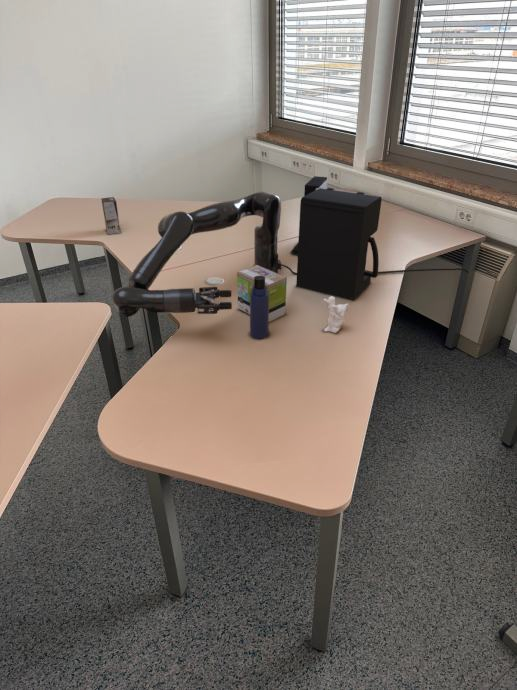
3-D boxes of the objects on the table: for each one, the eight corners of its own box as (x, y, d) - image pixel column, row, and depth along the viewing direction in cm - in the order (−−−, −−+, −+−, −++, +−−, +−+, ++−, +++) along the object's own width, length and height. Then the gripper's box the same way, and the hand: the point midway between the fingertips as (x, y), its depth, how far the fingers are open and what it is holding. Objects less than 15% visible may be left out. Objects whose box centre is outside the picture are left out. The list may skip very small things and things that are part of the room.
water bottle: (262, 328, 163) (263, 272, 152) (271, 336, 158) (272, 279, 148) (246, 332, 160) (246, 276, 150) (255, 340, 156) (255, 283, 145)
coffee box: (121, 233, 246) (116, 201, 237) (108, 234, 243) (102, 202, 235) (118, 227, 253) (114, 196, 244) (105, 229, 251) (100, 197, 242)
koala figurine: (321, 334, 160) (323, 301, 153) (320, 324, 165) (323, 292, 159) (346, 335, 159) (350, 302, 153) (345, 325, 165) (349, 293, 158)
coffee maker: (380, 284, 193) (394, 195, 175) (363, 303, 179) (376, 208, 161) (316, 270, 205) (322, 185, 187) (295, 286, 191) (300, 197, 173)
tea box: (236, 309, 174) (235, 271, 167) (256, 301, 180) (256, 263, 173) (266, 324, 165) (267, 284, 157) (286, 314, 171) (287, 275, 163)
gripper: (176, 299, 143) (231, 298, 144) (180, 280, 155) (231, 279, 156) (178, 322, 147) (232, 320, 148) (182, 301, 159) (231, 300, 160)
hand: (231, 299), depth 152 cm, fingers open, 8 cm apart
